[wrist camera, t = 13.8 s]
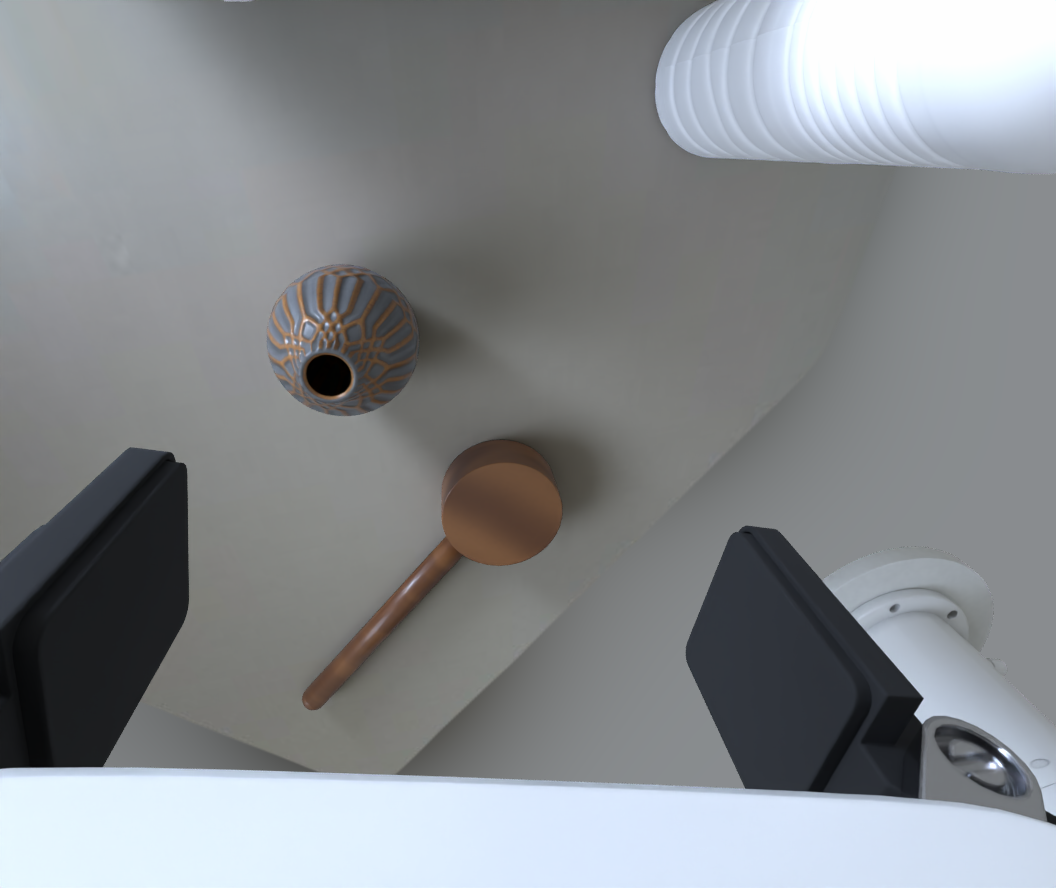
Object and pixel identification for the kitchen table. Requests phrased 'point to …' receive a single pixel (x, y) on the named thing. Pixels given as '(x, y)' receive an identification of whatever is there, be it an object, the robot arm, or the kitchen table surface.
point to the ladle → (464, 539)
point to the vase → (343, 340)
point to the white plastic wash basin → (238, 0)
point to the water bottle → (866, 83)
